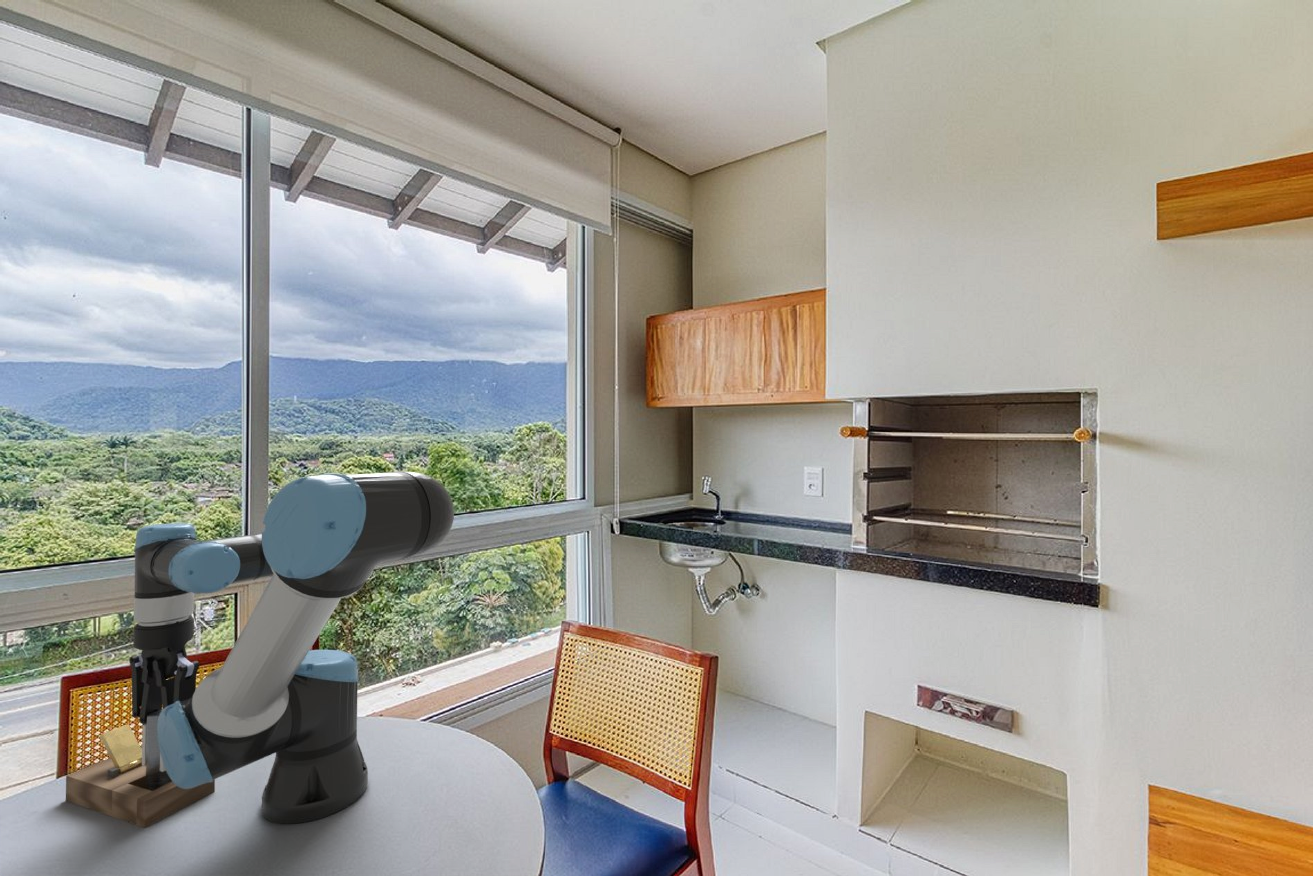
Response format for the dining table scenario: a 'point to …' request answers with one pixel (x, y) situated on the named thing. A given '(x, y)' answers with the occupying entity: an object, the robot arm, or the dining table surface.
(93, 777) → the block
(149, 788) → the peg
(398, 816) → the dining table surface
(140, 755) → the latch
